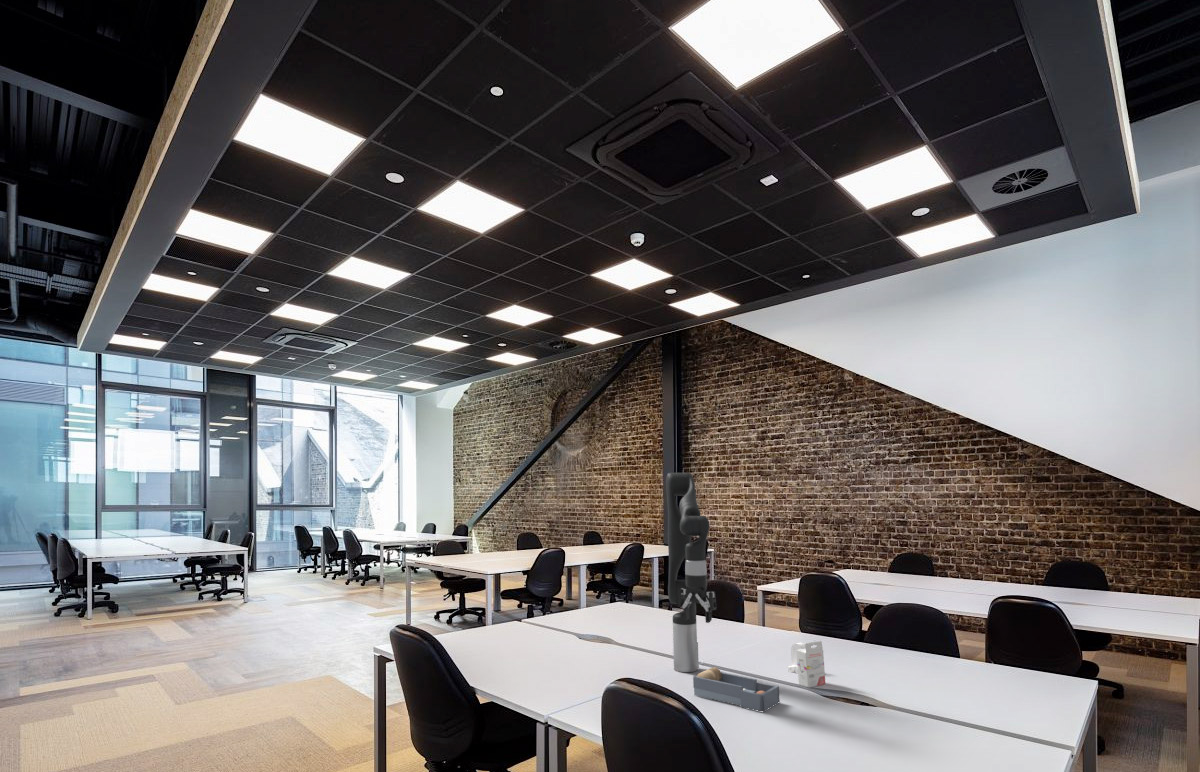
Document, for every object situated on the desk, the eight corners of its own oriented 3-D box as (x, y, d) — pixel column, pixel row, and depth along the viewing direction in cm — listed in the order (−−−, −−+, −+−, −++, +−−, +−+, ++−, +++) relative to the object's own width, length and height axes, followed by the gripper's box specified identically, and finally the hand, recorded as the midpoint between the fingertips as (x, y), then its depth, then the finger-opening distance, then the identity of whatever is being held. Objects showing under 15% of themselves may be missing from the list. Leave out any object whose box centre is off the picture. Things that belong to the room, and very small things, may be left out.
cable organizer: (813, 669, 242) (812, 642, 244) (799, 674, 235) (798, 646, 237) (801, 666, 246) (799, 639, 247) (787, 671, 239) (785, 644, 241)
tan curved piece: (709, 681, 220) (709, 666, 221) (722, 684, 217) (721, 668, 217) (696, 687, 213) (696, 671, 214) (709, 690, 210) (708, 674, 211)
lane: (711, 687, 221) (710, 669, 222) (779, 702, 205) (778, 683, 206) (692, 696, 212) (692, 677, 213) (763, 712, 196) (762, 692, 197)
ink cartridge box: (815, 680, 228) (812, 638, 230) (825, 684, 224) (823, 640, 226) (797, 684, 224) (795, 640, 226) (808, 688, 220) (805, 643, 222)
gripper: (719, 573, 222) (720, 621, 219) (684, 570, 231) (685, 616, 228) (708, 576, 216) (709, 625, 213) (673, 572, 225) (674, 620, 223)
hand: (697, 620), depth 221 cm, fingers open, 8 cm apart
